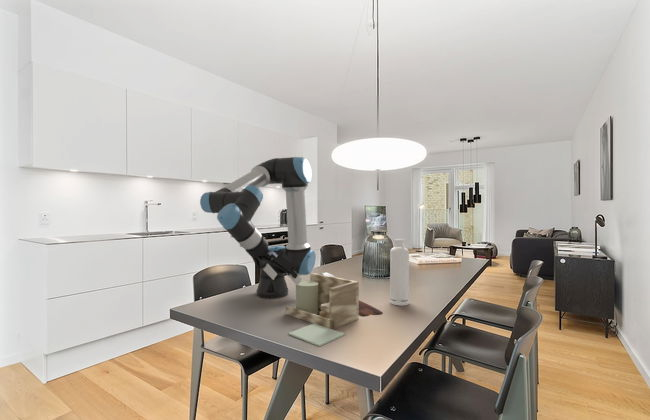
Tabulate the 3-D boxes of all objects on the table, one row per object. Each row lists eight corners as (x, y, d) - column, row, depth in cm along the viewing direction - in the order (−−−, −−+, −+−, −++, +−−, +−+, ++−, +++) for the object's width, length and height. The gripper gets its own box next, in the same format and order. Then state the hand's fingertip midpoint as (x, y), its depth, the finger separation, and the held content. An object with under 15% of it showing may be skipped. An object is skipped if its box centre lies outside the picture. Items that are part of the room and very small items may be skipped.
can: (322, 310, 132) (322, 281, 132) (310, 317, 124) (310, 285, 124) (303, 307, 137) (304, 278, 137) (290, 313, 129) (290, 283, 129)
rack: (286, 314, 128) (286, 278, 127) (312, 305, 139) (312, 272, 139) (332, 329, 112) (332, 288, 111) (358, 318, 123) (358, 281, 123)
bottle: (408, 306, 138) (408, 240, 138) (388, 304, 141) (389, 239, 141) (409, 301, 146) (409, 238, 146) (391, 299, 149) (391, 238, 149)
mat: (288, 334, 107) (288, 332, 107) (313, 324, 116) (313, 323, 116) (319, 346, 98) (319, 344, 98) (344, 335, 107) (344, 333, 107)
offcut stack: (317, 321, 119) (317, 305, 119) (335, 315, 126) (335, 299, 126) (332, 326, 114) (332, 309, 114) (350, 319, 122) (350, 303, 122)
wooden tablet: (334, 297, 149) (353, 292, 153) (334, 301, 149) (354, 297, 153) (361, 315, 125) (384, 309, 128) (362, 320, 125) (384, 314, 128)
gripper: (226, 247, 117) (260, 282, 129) (270, 254, 101) (304, 293, 112) (239, 232, 121) (271, 267, 133) (283, 236, 105) (315, 275, 116)
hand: (286, 279), depth 122 cm, fingers open, 13 cm apart
